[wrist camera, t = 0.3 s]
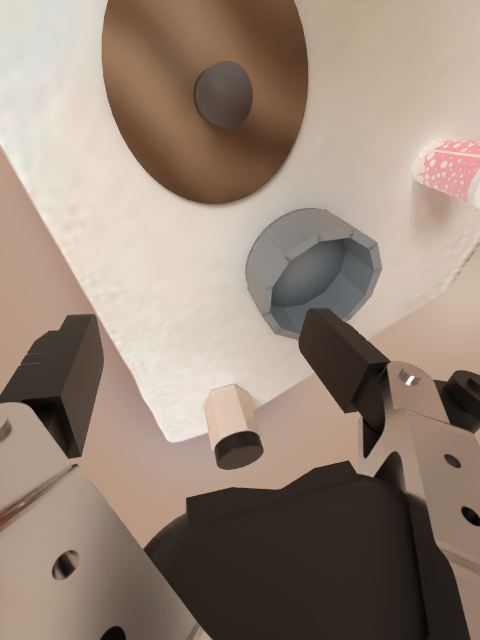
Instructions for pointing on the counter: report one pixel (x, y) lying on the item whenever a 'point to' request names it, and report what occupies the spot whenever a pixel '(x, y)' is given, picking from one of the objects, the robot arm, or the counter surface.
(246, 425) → the jar
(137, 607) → the robot arm
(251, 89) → the walnut lid
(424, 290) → the counter surface
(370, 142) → the counter surface
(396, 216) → the counter surface
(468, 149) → the beverage cup
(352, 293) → the grey hollow cylinder
